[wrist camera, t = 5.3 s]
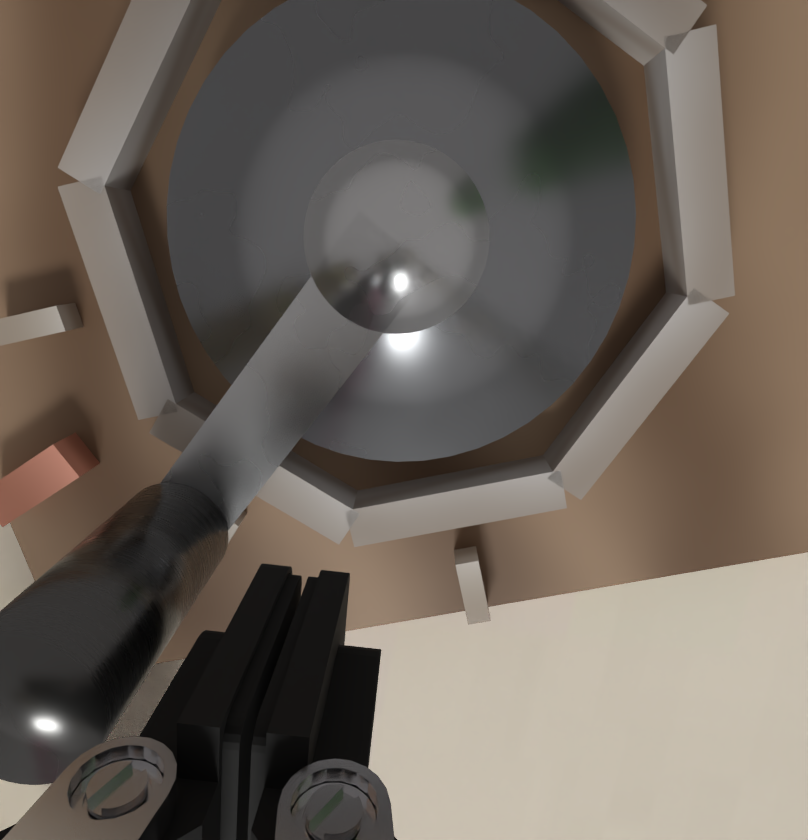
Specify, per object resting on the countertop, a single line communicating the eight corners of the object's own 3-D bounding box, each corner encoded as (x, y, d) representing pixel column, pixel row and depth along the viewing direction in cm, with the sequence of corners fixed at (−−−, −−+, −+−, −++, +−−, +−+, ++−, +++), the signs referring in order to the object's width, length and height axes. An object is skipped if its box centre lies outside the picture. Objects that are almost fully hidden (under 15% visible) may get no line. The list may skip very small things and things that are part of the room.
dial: (360, -122, 12) (252, -750, 5) (710, 204, 14) (1081, 149, 6) (25, 408, 16) (-368, 568, 8) (337, 625, 17) (265, 937, 9)
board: (883, -401, 12) (1015, -586, 9) (886, 505, 17) (971, 553, 15) (-189, -80, 14) (-333, -157, 11) (103, 643, 19) (51, 707, 17)
